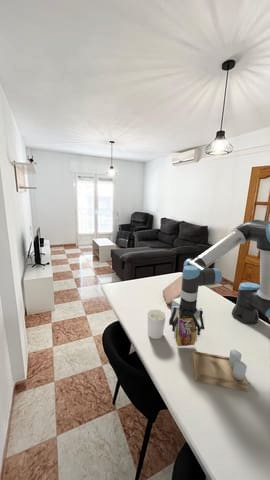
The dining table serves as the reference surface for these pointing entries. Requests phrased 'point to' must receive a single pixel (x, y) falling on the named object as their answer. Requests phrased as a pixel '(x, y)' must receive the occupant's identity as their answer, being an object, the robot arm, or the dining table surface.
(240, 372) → the smooth rounded lump
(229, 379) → the tan tray
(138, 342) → the dining table surface
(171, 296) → the case
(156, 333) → the white cream cup
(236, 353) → the white egg
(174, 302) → the small box
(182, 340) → the candy box
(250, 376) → the dining table surface
